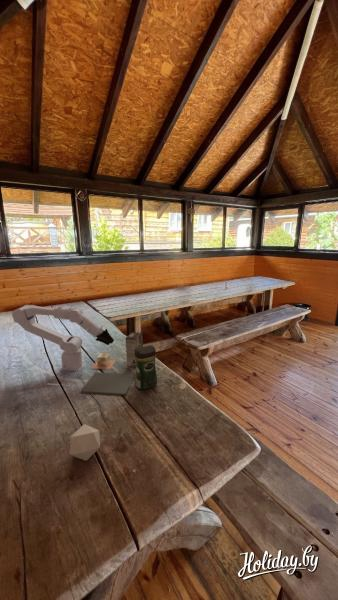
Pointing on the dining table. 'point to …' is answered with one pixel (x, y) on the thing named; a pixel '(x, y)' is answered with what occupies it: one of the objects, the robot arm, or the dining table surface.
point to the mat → (108, 383)
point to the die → (84, 442)
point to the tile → (104, 366)
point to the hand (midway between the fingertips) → (111, 342)
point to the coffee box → (133, 346)
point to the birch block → (103, 359)
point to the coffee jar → (145, 367)
